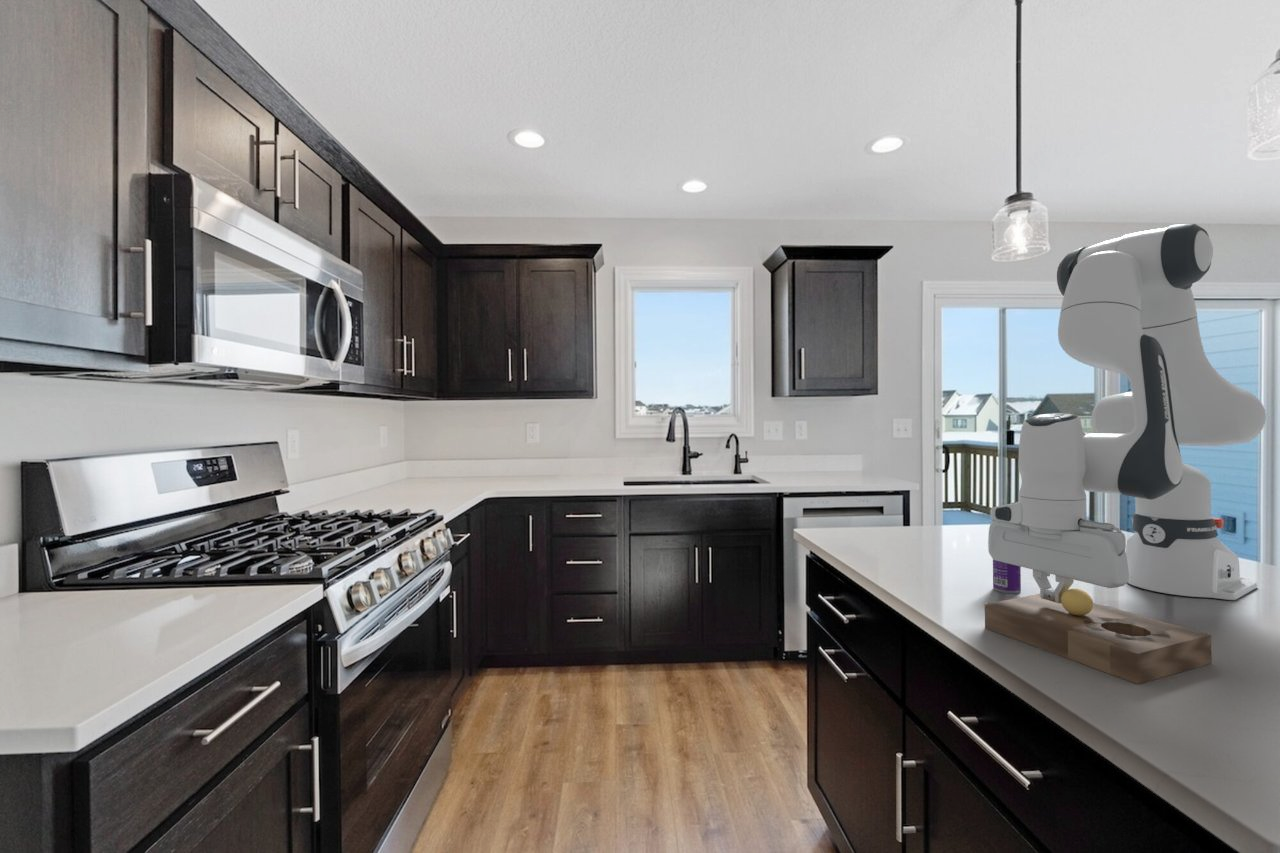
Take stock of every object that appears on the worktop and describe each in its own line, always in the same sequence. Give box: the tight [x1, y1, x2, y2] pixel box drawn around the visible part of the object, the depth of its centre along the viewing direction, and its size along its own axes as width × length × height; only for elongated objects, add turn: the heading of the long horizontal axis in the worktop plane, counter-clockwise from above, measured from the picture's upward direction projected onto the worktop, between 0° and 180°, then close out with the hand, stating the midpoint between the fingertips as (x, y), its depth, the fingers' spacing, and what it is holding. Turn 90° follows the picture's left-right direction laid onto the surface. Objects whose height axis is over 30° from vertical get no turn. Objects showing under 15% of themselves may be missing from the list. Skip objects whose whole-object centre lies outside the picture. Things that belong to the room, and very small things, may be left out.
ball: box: [1061, 588, 1094, 616], centre depth 90 cm, size 4×4×4 cm
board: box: [984, 593, 1213, 685], centre depth 89 cm, size 16×22×4 cm
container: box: [992, 519, 1022, 595], centre depth 116 cm, size 5×5×15 cm
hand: (1053, 600), depth 93 cm, fingers closed
